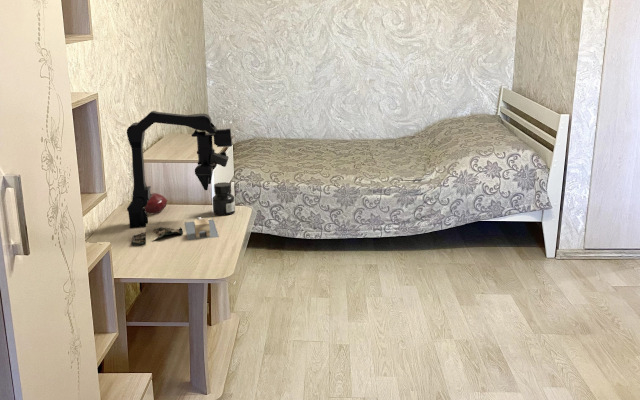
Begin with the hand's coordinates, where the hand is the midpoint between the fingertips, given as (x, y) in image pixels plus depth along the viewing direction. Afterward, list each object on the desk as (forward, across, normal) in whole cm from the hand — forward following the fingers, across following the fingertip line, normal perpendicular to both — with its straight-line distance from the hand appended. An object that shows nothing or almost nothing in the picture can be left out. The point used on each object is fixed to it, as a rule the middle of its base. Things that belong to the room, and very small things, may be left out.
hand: (207, 187), depth 254 cm
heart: (+14, +15, +24) cm, 32 cm away
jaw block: (+13, -20, 0) cm, 24 cm away
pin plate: (+14, -14, +1) cm, 20 cm away
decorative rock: (+15, -18, +17) cm, 29 cm away
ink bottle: (+14, +11, -4) cm, 19 cm away
